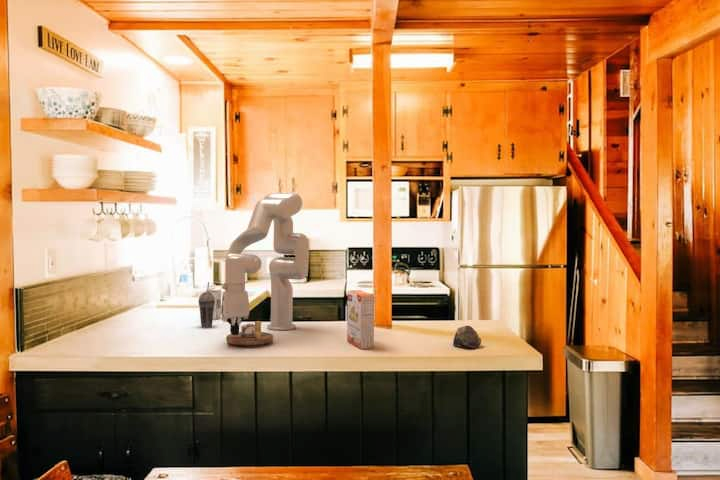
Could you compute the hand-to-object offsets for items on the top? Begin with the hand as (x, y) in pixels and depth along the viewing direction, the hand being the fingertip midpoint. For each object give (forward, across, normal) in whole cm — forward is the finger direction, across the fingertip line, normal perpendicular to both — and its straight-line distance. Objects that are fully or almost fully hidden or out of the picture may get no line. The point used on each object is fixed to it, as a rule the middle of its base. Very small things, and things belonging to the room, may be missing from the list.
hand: (234, 334), depth 225 cm
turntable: (+3, +6, 0) cm, 7 cm away
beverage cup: (+4, +3, +39) cm, 39 cm away
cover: (+1, +6, 0) cm, 6 cm away
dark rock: (+4, +78, -47) cm, 91 cm away
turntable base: (+4, +6, 0) cm, 7 cm away
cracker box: (+4, +42, -24) cm, 49 cm away
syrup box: (+4, +12, +56) cm, 57 cm away
